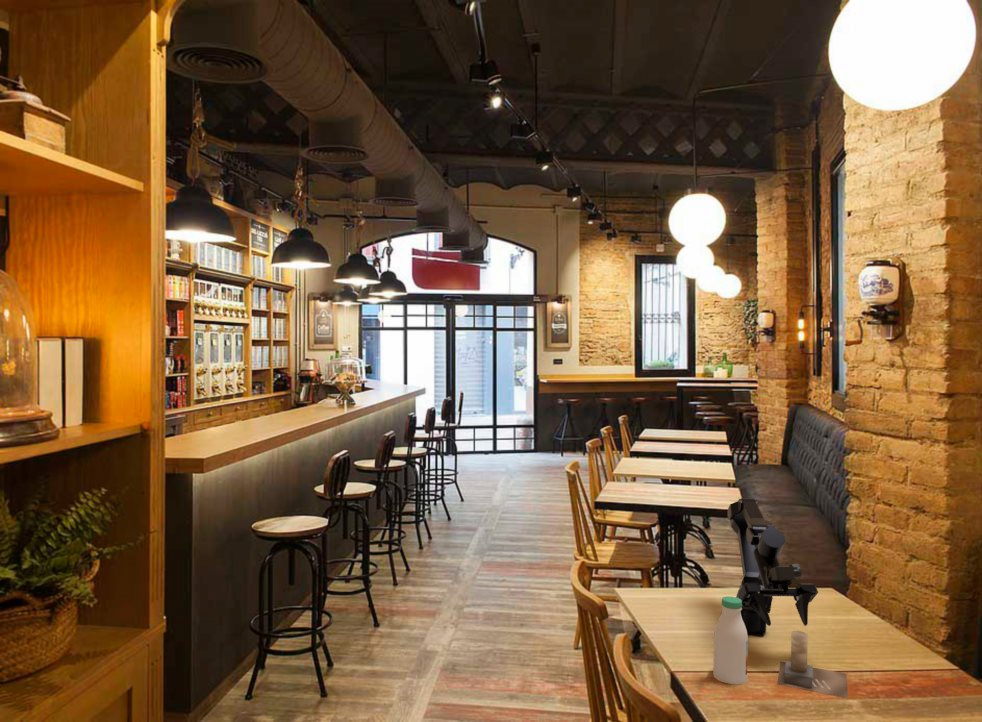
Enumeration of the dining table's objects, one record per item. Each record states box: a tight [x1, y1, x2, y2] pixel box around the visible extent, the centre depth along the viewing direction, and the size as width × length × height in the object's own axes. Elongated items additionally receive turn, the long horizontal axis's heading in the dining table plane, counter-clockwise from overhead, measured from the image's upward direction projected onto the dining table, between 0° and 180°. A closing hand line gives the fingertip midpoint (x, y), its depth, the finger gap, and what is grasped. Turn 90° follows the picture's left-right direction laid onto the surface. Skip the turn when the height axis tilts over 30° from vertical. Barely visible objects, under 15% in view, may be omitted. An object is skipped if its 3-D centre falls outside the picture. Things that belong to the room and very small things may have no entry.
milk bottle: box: [712, 596, 749, 685], centre depth 172 cm, size 8×8×20 cm
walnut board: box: [776, 661, 849, 699], centre depth 172 cm, size 15×14×1 cm
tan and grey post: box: [784, 630, 814, 688], centre depth 171 cm, size 6×7×11 cm
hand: (787, 625), depth 177 cm, fingers open, 9 cm apart
